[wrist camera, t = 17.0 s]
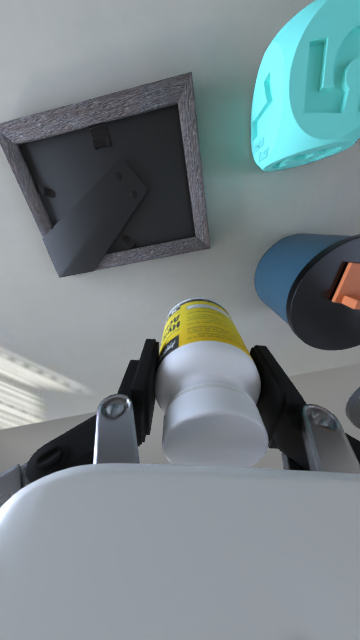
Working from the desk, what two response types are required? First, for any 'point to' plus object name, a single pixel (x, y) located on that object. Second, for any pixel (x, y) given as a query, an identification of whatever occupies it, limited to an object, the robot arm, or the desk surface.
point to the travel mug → (311, 287)
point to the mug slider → (349, 287)
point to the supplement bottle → (208, 390)
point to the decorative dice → (309, 88)
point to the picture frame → (113, 176)
